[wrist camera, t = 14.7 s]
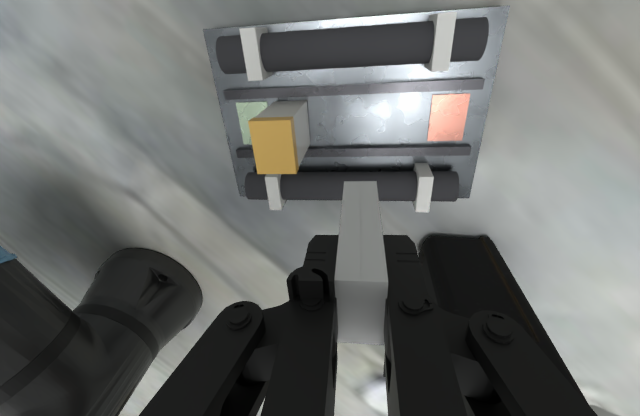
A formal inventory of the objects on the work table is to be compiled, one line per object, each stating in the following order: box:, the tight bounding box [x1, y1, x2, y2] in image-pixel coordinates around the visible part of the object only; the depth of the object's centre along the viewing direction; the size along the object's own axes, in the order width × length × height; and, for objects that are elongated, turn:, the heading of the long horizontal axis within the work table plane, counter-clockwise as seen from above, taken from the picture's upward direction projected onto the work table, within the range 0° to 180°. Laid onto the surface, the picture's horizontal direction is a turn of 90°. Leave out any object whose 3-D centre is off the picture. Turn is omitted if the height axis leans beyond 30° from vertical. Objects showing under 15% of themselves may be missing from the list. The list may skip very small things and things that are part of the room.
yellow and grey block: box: [248, 100, 310, 174], centre depth 25 cm, size 3×4×7 cm
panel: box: [203, 6, 510, 198], centre depth 28 cm, size 24×16×3 cm, turn 94°
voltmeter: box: [419, 236, 589, 405], centre depth 28 cm, size 16×9×25 cm, turn 1°
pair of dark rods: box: [216, 12, 489, 213], centre depth 26 cm, size 20×16×3 cm
